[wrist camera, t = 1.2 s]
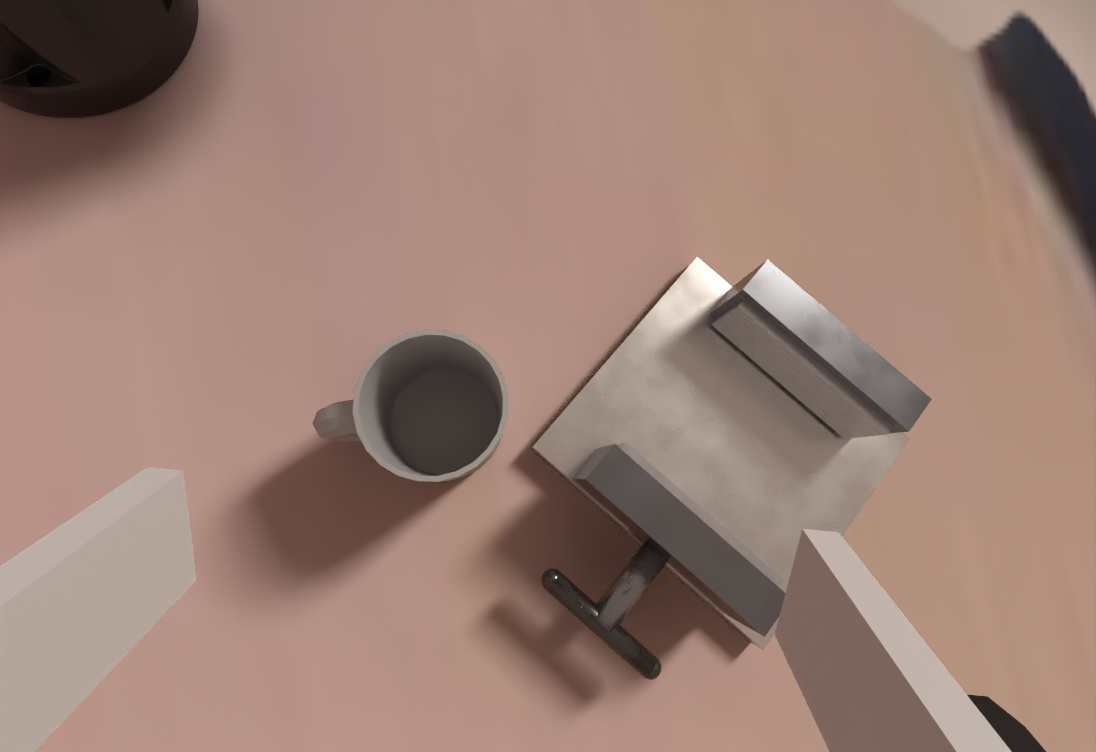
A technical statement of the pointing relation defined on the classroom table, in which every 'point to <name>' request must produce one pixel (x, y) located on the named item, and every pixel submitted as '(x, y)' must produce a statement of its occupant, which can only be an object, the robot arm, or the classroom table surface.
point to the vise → (726, 446)
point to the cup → (424, 407)
